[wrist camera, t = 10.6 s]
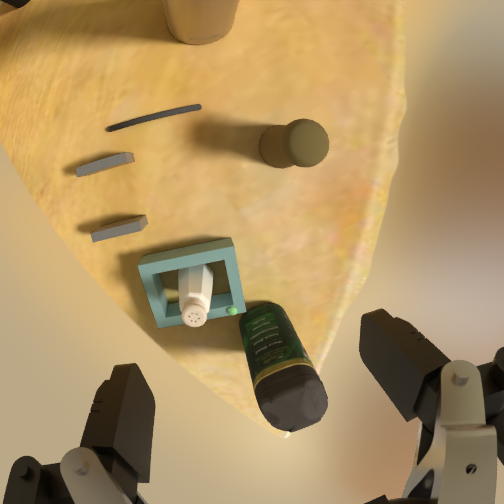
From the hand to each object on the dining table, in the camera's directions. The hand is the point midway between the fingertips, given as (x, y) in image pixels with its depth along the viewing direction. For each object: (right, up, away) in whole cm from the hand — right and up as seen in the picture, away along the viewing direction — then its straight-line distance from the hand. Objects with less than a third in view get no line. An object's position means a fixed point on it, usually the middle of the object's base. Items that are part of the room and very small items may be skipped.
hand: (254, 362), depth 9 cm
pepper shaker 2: (+4, +18, +27) cm, 33 cm away
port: (-8, 0, +31) cm, 32 cm away
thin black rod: (-13, +21, +23) cm, 34 cm away
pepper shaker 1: (-8, 0, +31) cm, 32 cm away
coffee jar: (+2, -8, +36) cm, 37 cm away
